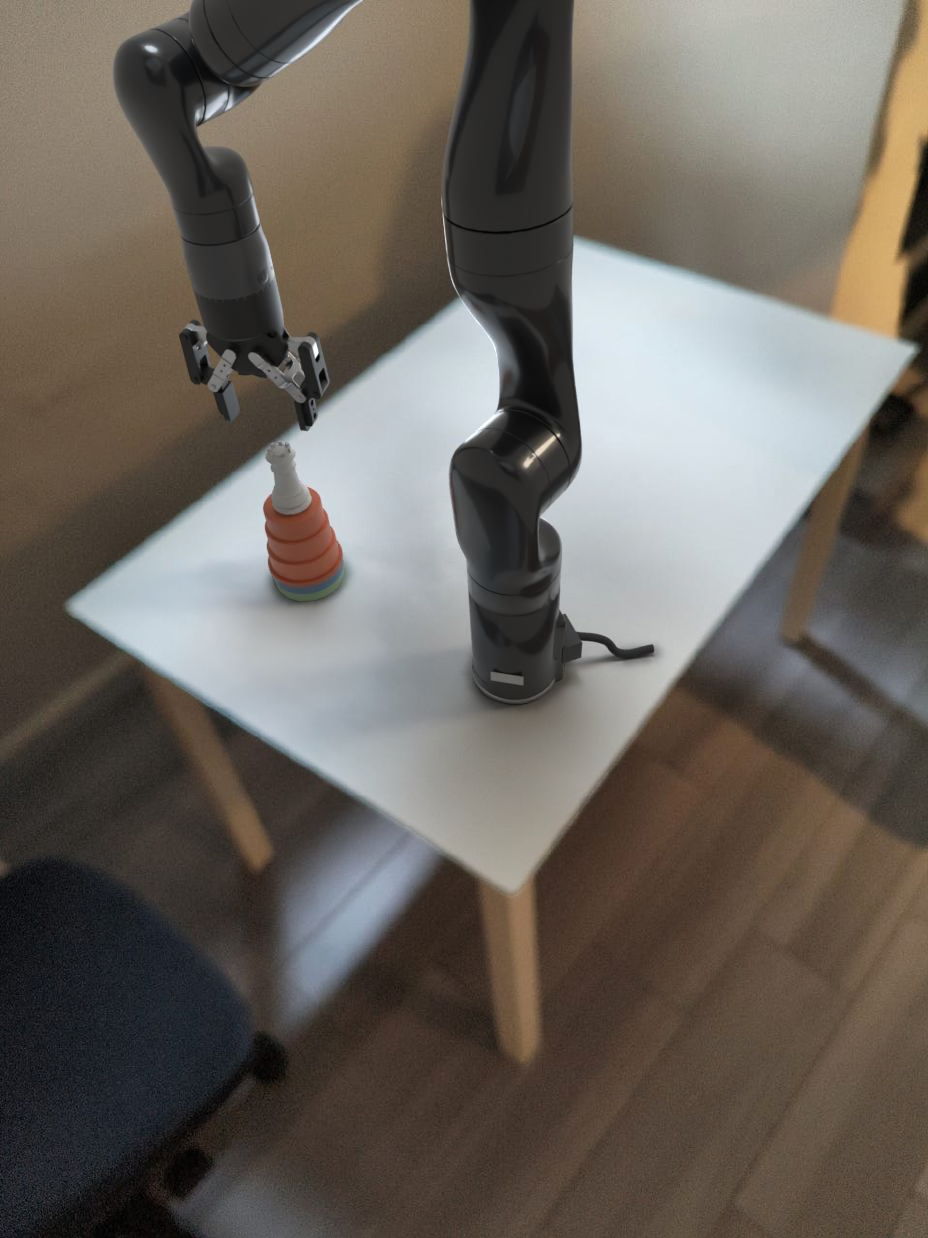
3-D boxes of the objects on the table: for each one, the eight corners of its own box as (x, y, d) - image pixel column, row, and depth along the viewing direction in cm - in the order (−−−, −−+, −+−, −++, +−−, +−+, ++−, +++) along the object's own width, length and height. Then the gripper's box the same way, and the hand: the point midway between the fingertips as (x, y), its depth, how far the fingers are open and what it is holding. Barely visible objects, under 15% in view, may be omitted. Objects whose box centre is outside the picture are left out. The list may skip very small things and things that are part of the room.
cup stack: (336, 542, 116) (321, 470, 108) (354, 591, 111) (340, 518, 102) (266, 561, 115) (245, 490, 106) (281, 611, 109) (260, 540, 100)
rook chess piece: (284, 523, 102) (269, 466, 96) (266, 501, 104) (250, 445, 98) (319, 506, 103) (306, 450, 97) (301, 486, 106) (287, 429, 100)
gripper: (320, 261, 84) (346, 408, 96) (181, 249, 87) (223, 392, 99) (288, 303, 79) (320, 452, 92) (143, 288, 82) (192, 434, 95)
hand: (269, 421), depth 95 cm, fingers open, 8 cm apart
